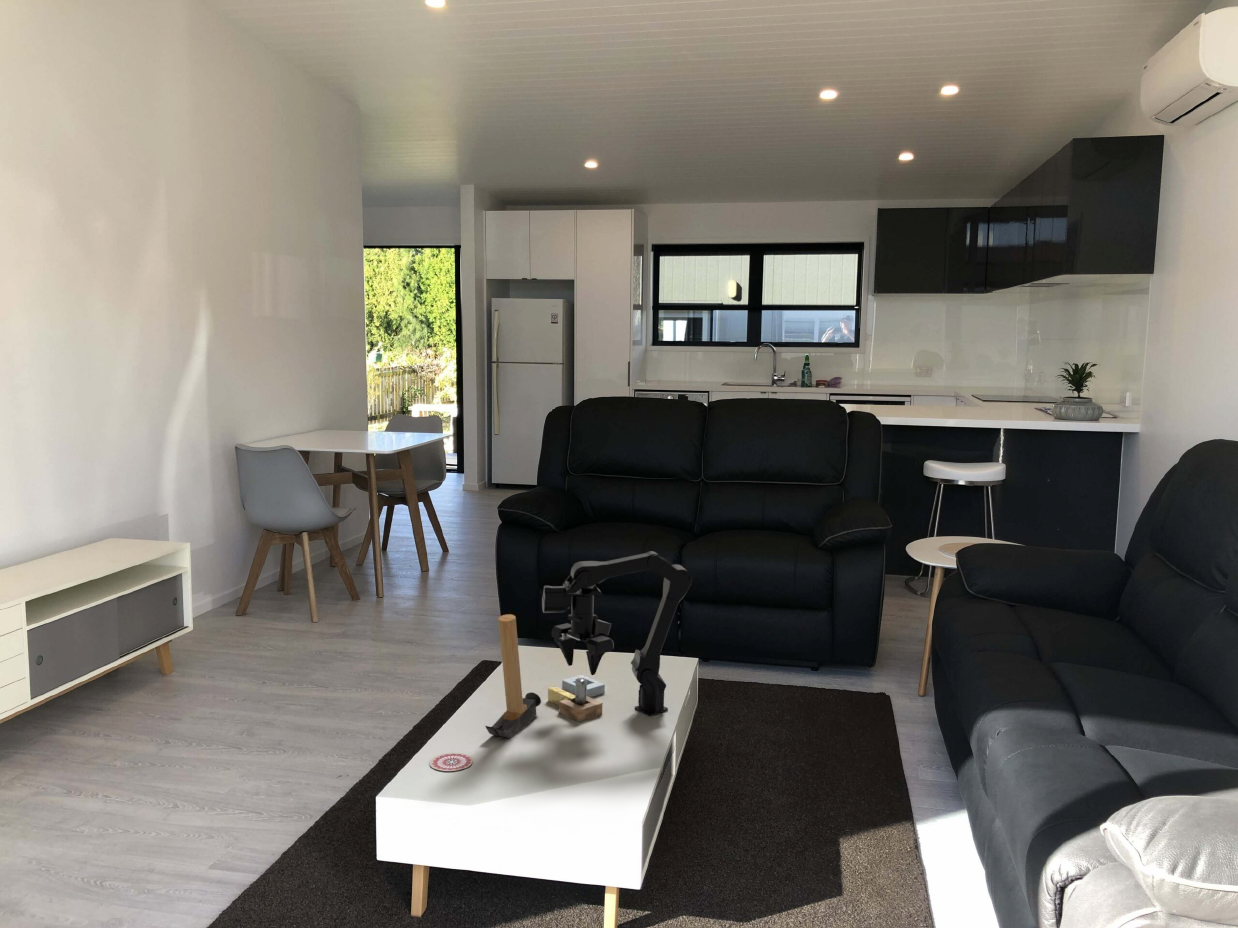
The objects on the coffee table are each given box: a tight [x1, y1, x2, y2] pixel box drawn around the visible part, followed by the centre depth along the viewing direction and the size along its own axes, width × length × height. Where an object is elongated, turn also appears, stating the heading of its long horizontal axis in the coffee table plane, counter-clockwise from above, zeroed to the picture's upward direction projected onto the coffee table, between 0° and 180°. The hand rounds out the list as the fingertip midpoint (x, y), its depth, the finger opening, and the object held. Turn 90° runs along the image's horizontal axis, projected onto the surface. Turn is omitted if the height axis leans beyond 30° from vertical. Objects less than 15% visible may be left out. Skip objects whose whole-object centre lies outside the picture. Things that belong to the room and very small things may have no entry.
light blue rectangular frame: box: [561, 674, 606, 698], centre depth 256 cm, size 10×7×2 cm
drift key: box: [547, 686, 575, 706], centre depth 245 cm, size 10×2×4 cm, turn 42°
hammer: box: [485, 613, 542, 739], centre depth 226 cm, size 20×5×30 cm, turn 158°
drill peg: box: [574, 678, 587, 706], centre depth 239 cm, size 3×3×9 cm
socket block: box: [558, 696, 603, 723], centre depth 239 cm, size 8×8×3 cm
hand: (581, 669), depth 238 cm, fingers open, 9 cm apart
